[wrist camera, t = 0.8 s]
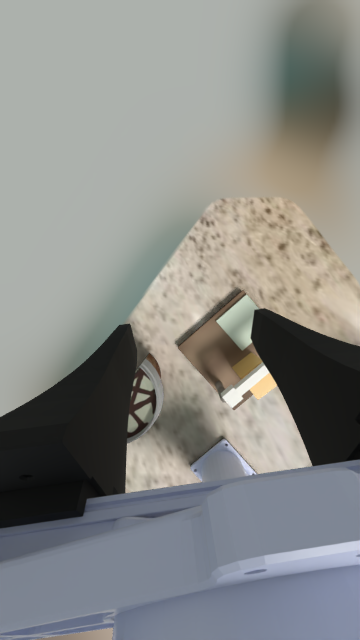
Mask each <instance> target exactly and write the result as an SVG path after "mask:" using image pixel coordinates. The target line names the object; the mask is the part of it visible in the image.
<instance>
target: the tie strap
mask: <svg viewBox="0 0 360 640" xmlns="http://www.w3.org/2000/svg"><path fill="white" fill-rule="evenodd" d="M268 373H269V371H268V369H267V368H266V366H265V365H264V363H263V362H262V363H261V364H260V365H258V366H257V367H256V368H255V369H254V370H253V371H251V372H250V373H249V374H248V375H247V376H245V377H244V378H243V379H242V380H241V381H240V382H238V383H237V384H236V385H235V386H234V387H233V385H232V384H231V385H230V386H229V387H228V388H226V389H225V390H224V391H223V392H222V393H220V394H221V396H222V398H223V399H224V400H225V401H226V402H227V403H228V405H229V406H230V407H231V408H233V407H234V406H235V405H237V404H238V403H239V402H240V401H241V400H243V397H242V395H243V394H244V393H246V392H247V391H248V390H249V389H250V388H252V387H253V386H254V385H255V384H256V383H258V382H259V381H260V380H261V379H262V378H264V377H265V376H266V375H267V374H268Z"/></svg>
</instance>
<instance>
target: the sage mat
mask: <svg viewBox="0 0 360 640" xmlns="http://www.w3.org/2000/svg"><path fill="white" fill-rule="evenodd" d="M256 309H259V308H258V307H257V306H256V305H255V303H254V302H253V301H252V300H251V299H250V298H249V296H248V295H245V296H244V297H243V298H242V299H241V300H239V301H238V302H237V303H236V304H235V305H234V306H233V307H231V308H230V309H229V310H228V311H227V312H226V313H225V314H223V315H222V316H221V317H220V318H219V319H218V320H217V321H216V322H217V323H218V324H219V325H220V326H221V328H222V329H223V330H224V331H225V332H226V333H227V334H228V336H229V337H230V338H231V339H232V340H233V341H234V342H235V343H236V345H237V346H238V347H239V348H240V349H241V350H242V351H243V350H244V349H245V348H246V347H247V346H249V345H250V344H251V343H252V340H251V338H250V337H251V330H252V323H253V316H254V310H256Z"/></svg>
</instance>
